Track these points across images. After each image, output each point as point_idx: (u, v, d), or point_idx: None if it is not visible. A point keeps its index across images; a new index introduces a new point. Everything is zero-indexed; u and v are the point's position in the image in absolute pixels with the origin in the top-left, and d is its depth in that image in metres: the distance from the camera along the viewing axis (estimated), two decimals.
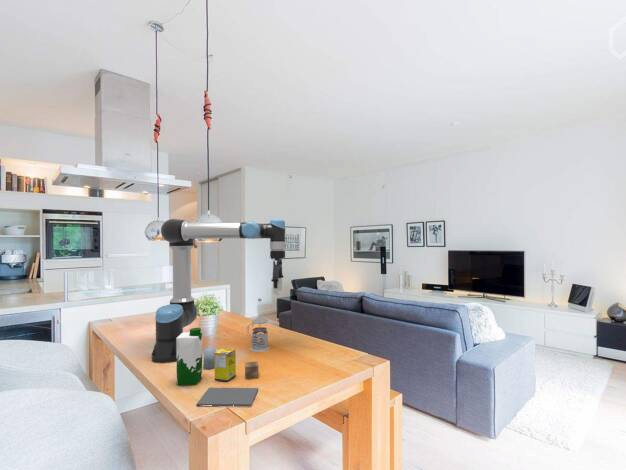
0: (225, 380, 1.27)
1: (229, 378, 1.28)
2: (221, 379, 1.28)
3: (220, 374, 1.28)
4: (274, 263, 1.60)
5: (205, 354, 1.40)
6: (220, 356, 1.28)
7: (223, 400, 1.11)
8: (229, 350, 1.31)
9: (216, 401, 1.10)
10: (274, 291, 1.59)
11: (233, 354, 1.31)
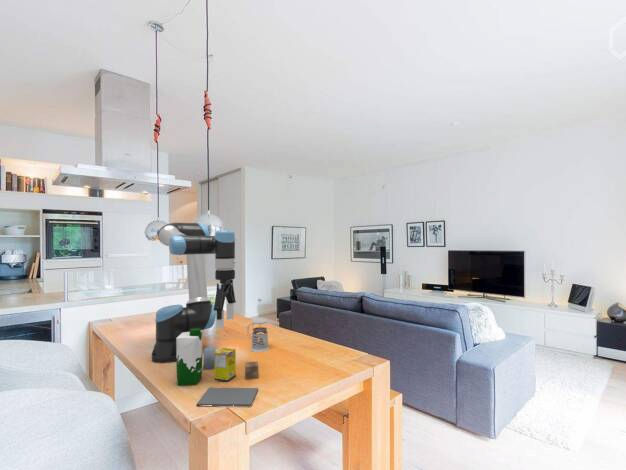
0: (225, 380, 1.27)
1: (229, 378, 1.28)
2: (221, 379, 1.28)
3: (220, 374, 1.28)
4: (218, 287, 1.24)
5: (205, 354, 1.40)
6: (220, 356, 1.28)
7: (223, 400, 1.11)
8: (229, 350, 1.31)
9: (216, 401, 1.10)
10: (218, 323, 1.24)
11: (233, 354, 1.31)
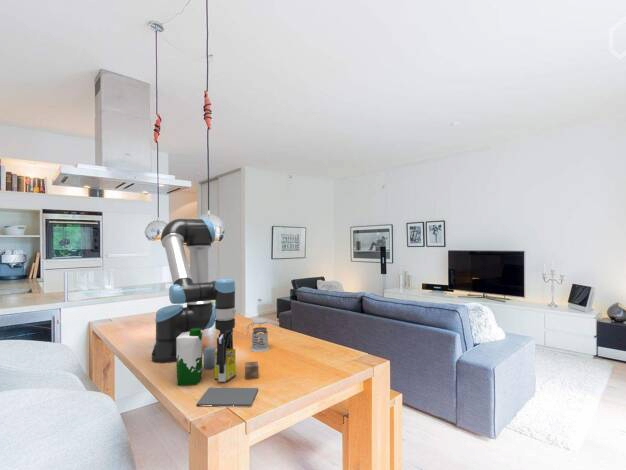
0: None
1: (229, 378, 1.28)
2: None
3: None
4: (218, 342, 1.24)
5: (205, 354, 1.40)
6: None
7: (223, 400, 1.11)
8: (229, 350, 1.31)
9: (216, 401, 1.10)
10: (220, 377, 1.27)
11: (233, 354, 1.31)
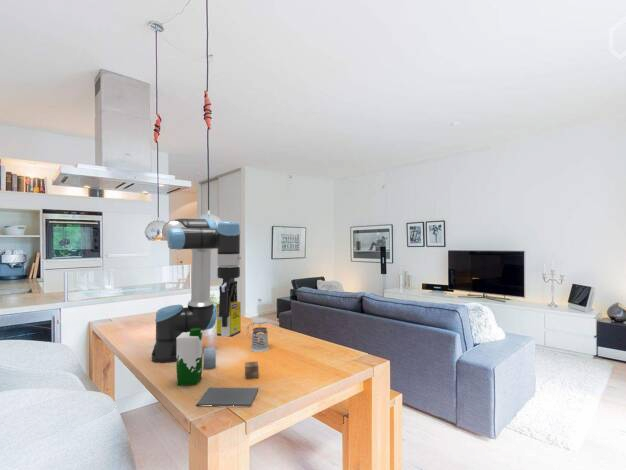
0: None
1: (233, 333, 1.12)
2: None
3: None
4: (221, 290, 1.09)
5: (205, 354, 1.40)
6: None
7: (223, 400, 1.11)
8: (233, 302, 1.15)
9: (216, 401, 1.10)
10: (223, 331, 1.11)
11: (238, 307, 1.15)
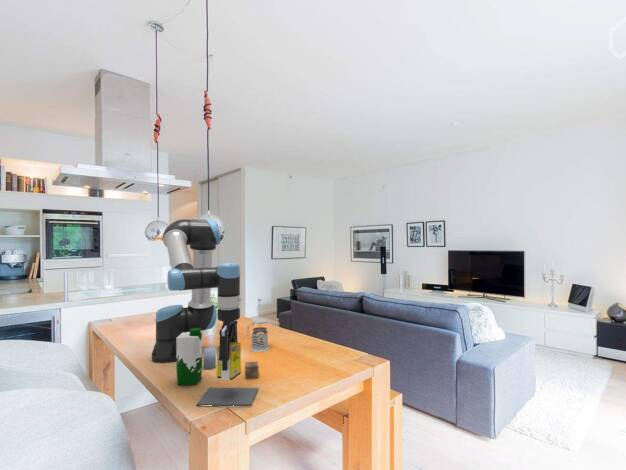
0: None
1: (234, 376, 1.12)
2: None
3: None
4: (221, 334, 1.08)
5: (205, 354, 1.40)
6: None
7: (223, 400, 1.11)
8: (233, 344, 1.15)
9: (216, 401, 1.10)
10: (223, 374, 1.10)
11: (238, 348, 1.15)
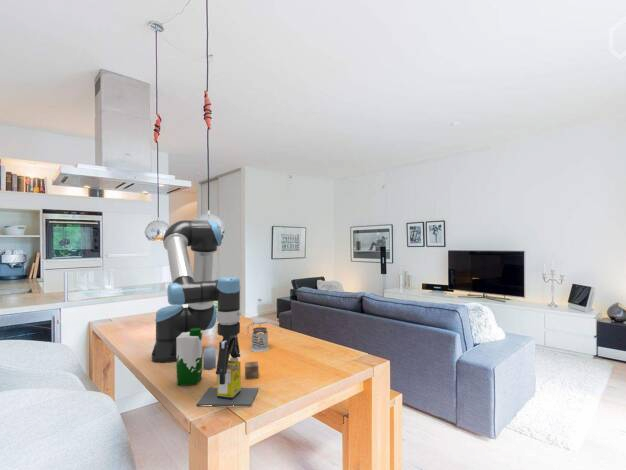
0: (230, 397, 1.12)
1: (234, 395, 1.13)
2: (225, 396, 1.12)
3: None
4: (220, 346, 1.08)
5: (205, 354, 1.40)
6: None
7: (223, 400, 1.11)
8: (234, 363, 1.15)
9: (216, 401, 1.10)
10: (220, 388, 1.08)
11: (238, 367, 1.16)
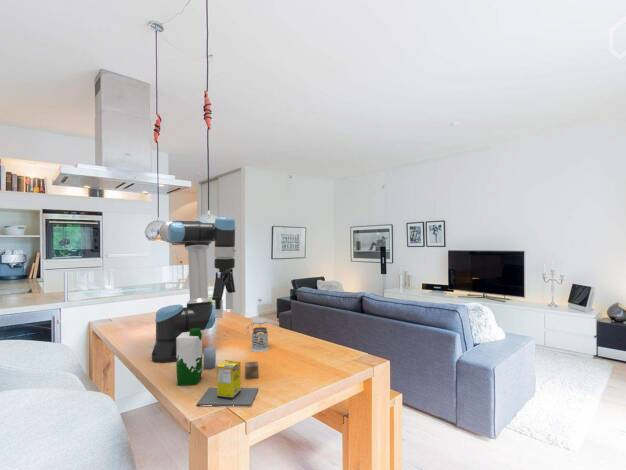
0: (230, 397, 1.12)
1: (234, 395, 1.13)
2: (225, 396, 1.12)
3: (224, 391, 1.12)
4: (217, 276, 1.20)
5: (205, 354, 1.40)
6: (224, 370, 1.12)
7: (223, 400, 1.11)
8: (233, 363, 1.15)
9: (216, 401, 1.10)
10: (216, 313, 1.20)
11: (238, 367, 1.16)
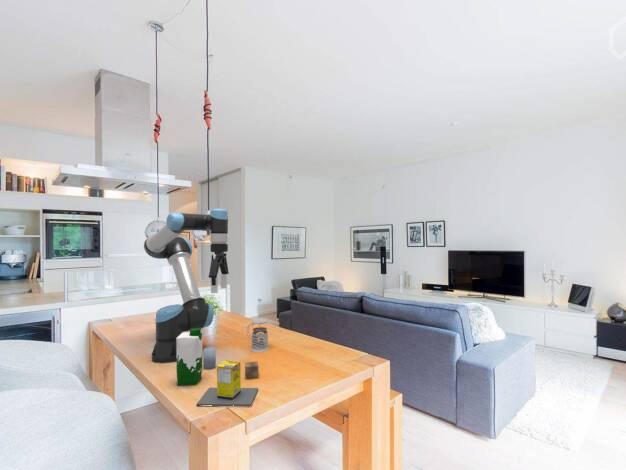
0: (230, 397, 1.12)
1: (234, 395, 1.13)
2: (225, 396, 1.12)
3: (224, 391, 1.12)
4: (212, 257, 1.43)
5: (205, 354, 1.40)
6: (224, 370, 1.12)
7: (223, 400, 1.11)
8: (234, 363, 1.15)
9: (216, 401, 1.10)
10: (212, 289, 1.42)
11: (238, 367, 1.16)
